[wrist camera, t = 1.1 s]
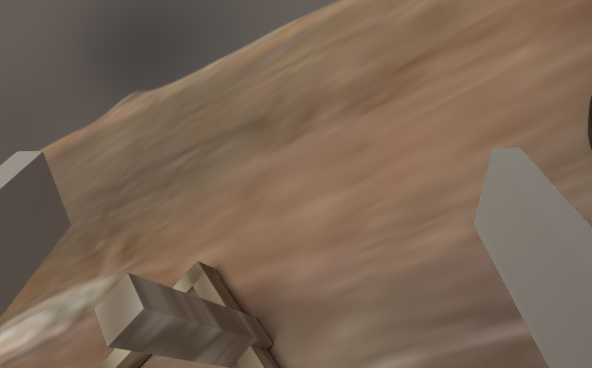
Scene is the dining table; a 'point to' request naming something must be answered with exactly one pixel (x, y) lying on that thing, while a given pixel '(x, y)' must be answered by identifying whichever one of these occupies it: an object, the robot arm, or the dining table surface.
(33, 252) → the robot arm
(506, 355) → the dining table surface
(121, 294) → the open rectangular frame
